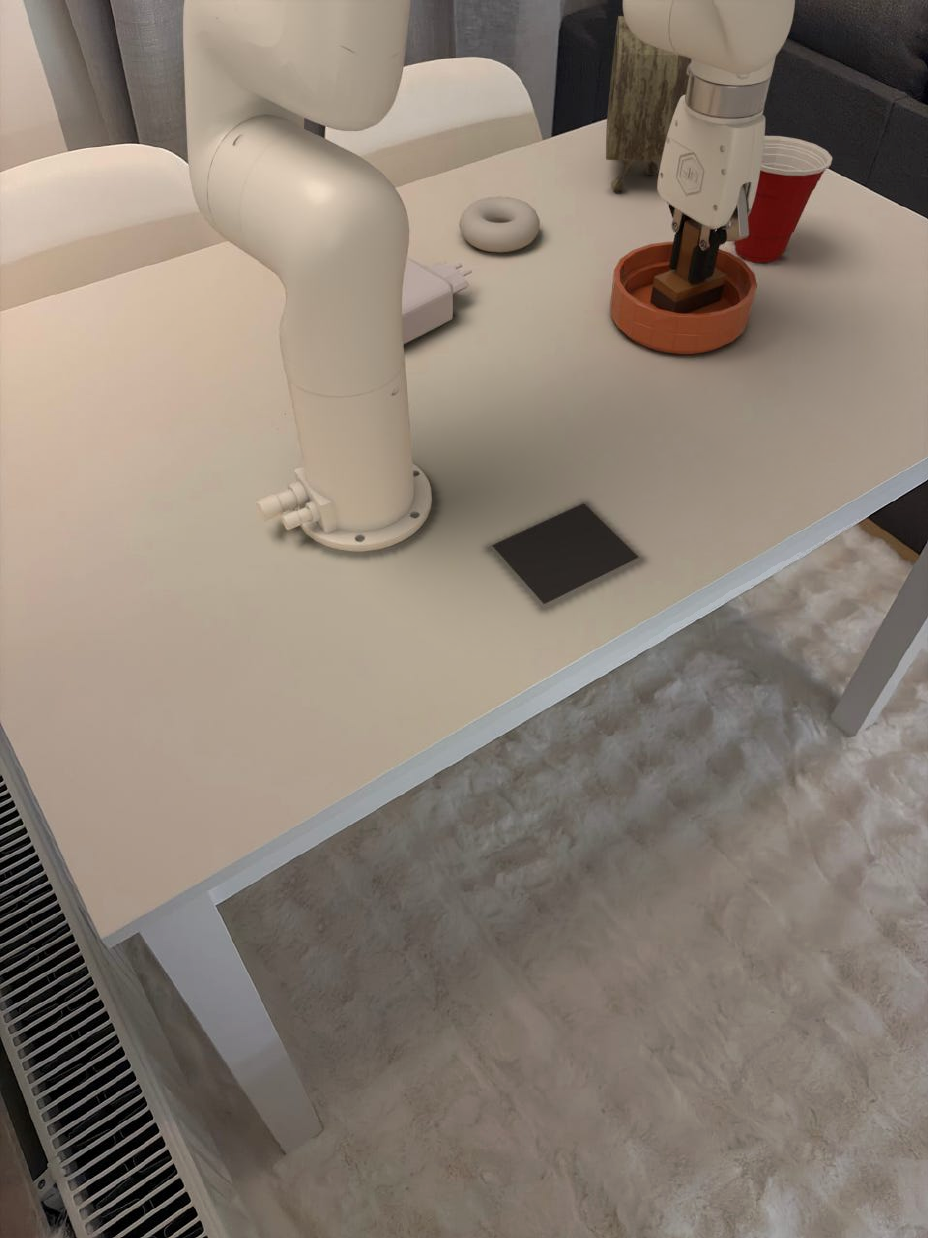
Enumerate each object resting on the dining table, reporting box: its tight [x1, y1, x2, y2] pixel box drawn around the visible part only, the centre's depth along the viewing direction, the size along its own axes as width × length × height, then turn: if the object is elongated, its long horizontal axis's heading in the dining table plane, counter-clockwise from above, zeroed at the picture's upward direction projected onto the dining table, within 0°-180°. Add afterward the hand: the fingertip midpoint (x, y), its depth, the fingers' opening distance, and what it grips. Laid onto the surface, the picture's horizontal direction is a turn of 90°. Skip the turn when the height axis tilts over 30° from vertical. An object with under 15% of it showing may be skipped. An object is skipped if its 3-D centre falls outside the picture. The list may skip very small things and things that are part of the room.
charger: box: [402, 258, 473, 345], centre depth 103 cm, size 5×9×15 cm
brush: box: [650, 219, 726, 314], centre depth 100 cm, size 7×4×9 cm, turn 121°
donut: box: [459, 196, 541, 253], centre depth 114 cm, size 10×4×10 cm
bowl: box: [609, 241, 758, 355], centre depth 101 cm, size 15×15×5 cm
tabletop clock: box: [605, 15, 692, 193], centre depth 116 cm, size 14×9×25 cm, turn 174°
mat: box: [491, 503, 639, 605], centre depth 80 cm, size 10×8×1 cm
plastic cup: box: [733, 135, 833, 264], centre depth 108 cm, size 11×11×12 cm
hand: (690, 270), depth 101 cm, fingers closed on brush, 2 cm apart
